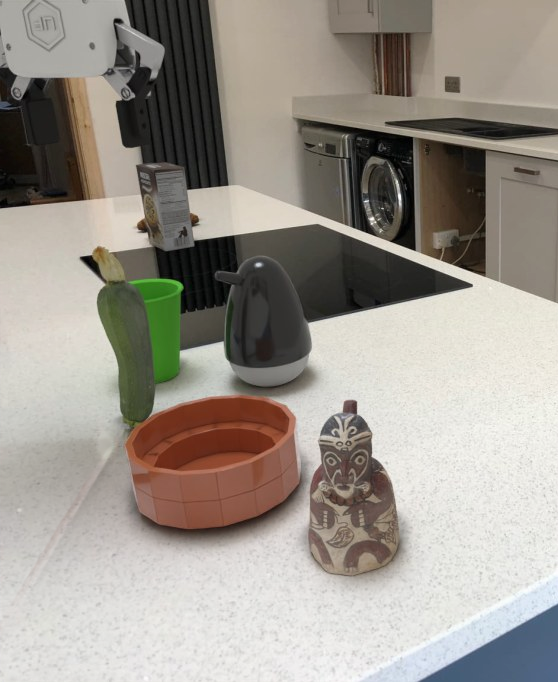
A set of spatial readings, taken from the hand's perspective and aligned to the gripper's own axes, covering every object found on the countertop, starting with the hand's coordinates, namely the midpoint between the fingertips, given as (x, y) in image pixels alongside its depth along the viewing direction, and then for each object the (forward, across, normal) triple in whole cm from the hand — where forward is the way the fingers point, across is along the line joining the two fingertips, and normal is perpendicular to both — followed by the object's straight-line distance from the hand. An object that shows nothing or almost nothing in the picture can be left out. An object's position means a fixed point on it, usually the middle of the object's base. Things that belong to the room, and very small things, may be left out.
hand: (90, 145), depth 67 cm
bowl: (+29, +14, -9) cm, 34 cm away
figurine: (+29, +29, -14) cm, 44 cm away
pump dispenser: (+29, +8, +14) cm, 33 cm away
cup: (+29, -7, +12) cm, 32 cm away
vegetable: (+29, 0, 0) cm, 29 cm away
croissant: (+29, -52, +84) cm, 103 cm away
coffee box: (+29, -43, +70) cm, 87 cm away
